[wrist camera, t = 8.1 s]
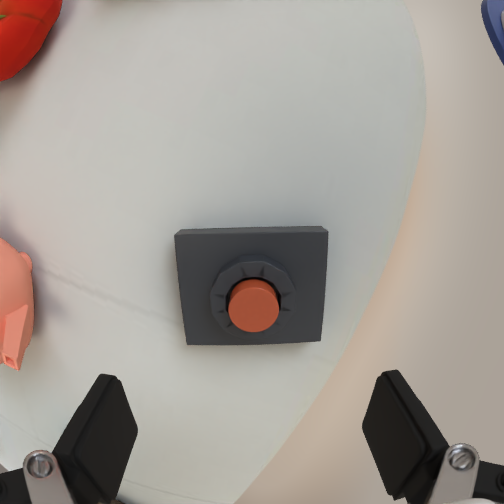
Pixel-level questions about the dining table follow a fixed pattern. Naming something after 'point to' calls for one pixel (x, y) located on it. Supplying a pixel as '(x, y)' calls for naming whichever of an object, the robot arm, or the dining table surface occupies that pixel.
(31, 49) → the tomato
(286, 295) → the button box
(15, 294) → the teapot
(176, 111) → the dining table surface
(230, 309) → the round orange push button
